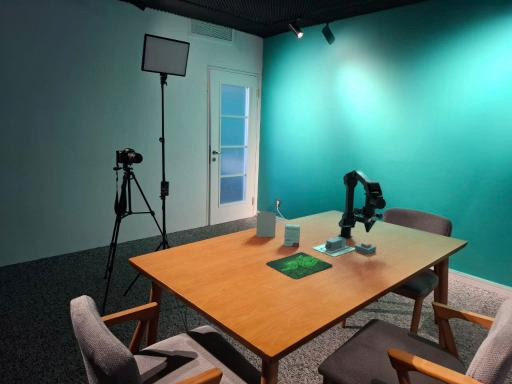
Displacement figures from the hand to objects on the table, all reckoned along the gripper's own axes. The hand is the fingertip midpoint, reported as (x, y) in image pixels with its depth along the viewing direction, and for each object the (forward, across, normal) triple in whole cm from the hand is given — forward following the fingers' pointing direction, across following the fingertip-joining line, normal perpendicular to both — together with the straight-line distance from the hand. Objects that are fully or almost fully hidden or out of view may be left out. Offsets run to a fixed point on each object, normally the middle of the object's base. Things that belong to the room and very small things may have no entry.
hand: (367, 232), depth 189 cm
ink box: (+11, +28, -30) cm, 43 cm away
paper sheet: (+11, +12, -12) cm, 20 cm away
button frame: (+11, 0, 0) cm, 11 cm away
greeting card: (+11, +31, -50) cm, 60 cm away
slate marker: (+11, +12, -12) cm, 20 cm away
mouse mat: (+12, +45, -8) cm, 47 cm away
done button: (+10, 0, 0) cm, 10 cm away
